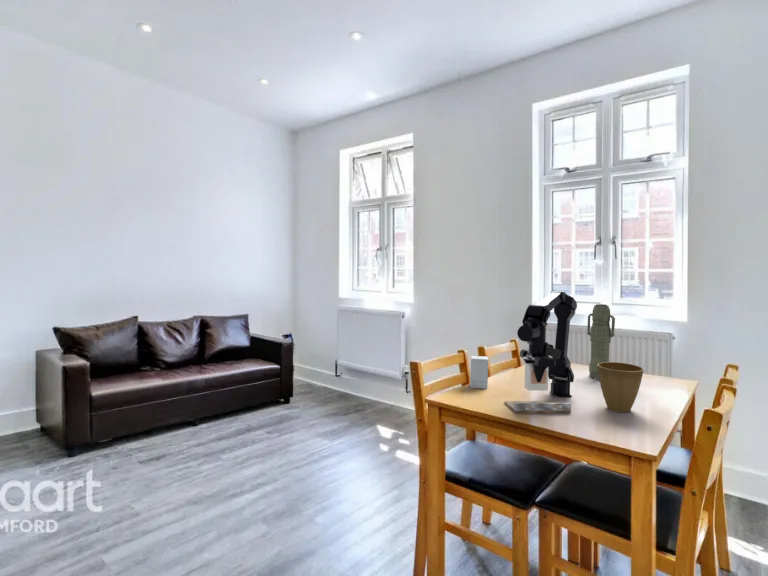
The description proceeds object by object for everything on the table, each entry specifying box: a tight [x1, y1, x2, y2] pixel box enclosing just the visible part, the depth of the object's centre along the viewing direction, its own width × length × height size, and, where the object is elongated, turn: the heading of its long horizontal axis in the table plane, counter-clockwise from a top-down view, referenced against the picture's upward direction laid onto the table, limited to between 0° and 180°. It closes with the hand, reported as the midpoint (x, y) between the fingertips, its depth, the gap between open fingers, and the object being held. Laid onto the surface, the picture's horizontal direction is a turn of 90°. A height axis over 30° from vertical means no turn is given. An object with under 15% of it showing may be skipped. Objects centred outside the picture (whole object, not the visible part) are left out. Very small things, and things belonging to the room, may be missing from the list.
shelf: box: [504, 400, 572, 414], centre depth 164 cm, size 20×12×3 cm, turn 93°
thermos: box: [586, 303, 616, 380], centre depth 213 cm, size 9×12×35 cm
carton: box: [524, 362, 549, 391], centre depth 165 cm, size 4×7×9 cm, turn 93°
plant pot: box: [598, 361, 644, 413], centre depth 163 cm, size 15×15×16 cm
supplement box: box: [469, 355, 489, 390], centre depth 194 cm, size 7×7×13 cm
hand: (536, 380), depth 165 cm, fingers closed on carton, 4 cm apart
